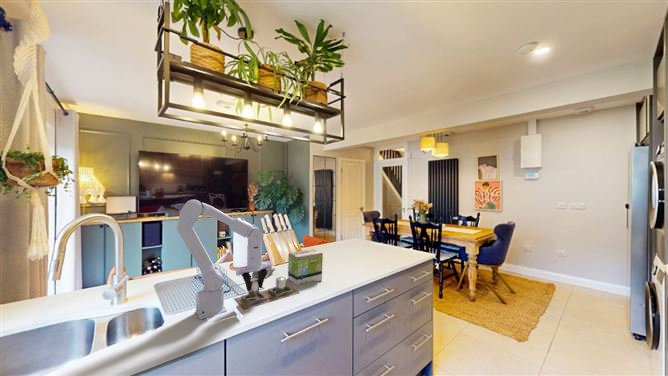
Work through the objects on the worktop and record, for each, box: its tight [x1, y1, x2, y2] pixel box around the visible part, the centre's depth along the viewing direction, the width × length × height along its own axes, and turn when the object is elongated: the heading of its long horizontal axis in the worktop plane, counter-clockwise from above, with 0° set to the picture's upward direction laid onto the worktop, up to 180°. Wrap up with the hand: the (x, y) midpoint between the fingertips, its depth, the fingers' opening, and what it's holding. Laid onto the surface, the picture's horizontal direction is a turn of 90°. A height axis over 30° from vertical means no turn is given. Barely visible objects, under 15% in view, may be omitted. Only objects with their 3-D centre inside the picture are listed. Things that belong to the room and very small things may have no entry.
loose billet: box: [247, 278, 260, 297], centre depth 106 cm, size 4×4×6 cm
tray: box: [229, 282, 265, 296], centre depth 118 cm, size 12×12×2 cm
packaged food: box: [251, 268, 276, 279], centre depth 136 cm, size 9×12×5 cm
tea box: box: [287, 248, 324, 285], centre depth 130 cm, size 15×10×15 cm, turn 129°
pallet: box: [233, 284, 300, 311], centre depth 109 cm, size 25×12×3 cm, turn 129°
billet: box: [275, 276, 287, 294], centre depth 113 cm, size 4×4×6 cm
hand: (254, 289), depth 105 cm, fingers closed on loose billet, 4 cm apart
